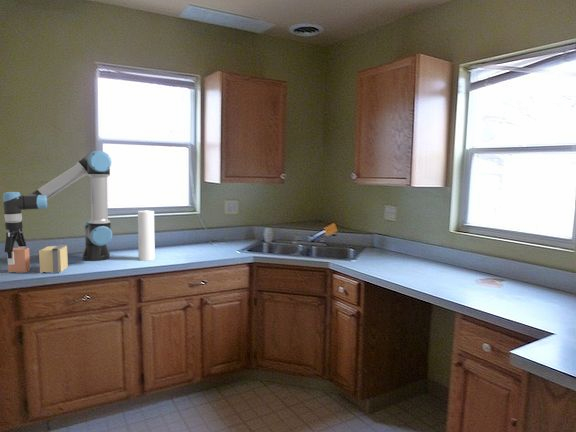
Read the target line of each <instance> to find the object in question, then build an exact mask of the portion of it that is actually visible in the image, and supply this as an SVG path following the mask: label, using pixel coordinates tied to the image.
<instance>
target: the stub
mask: <svg viewBox="0 0 576 432" xmlns="http://www.w3.org/2000/svg"><path fill="white" fill-rule="evenodd" d="M12 252H14V264H12V265H8V264H7V267H8V270H7V271H8V273H9V272H16V273H27V272H28V270H29V269H30V270H31V259H30V257H31V256H30V247H24V248H18V247H13V251H12ZM30 270H29V271H30ZM26 271H27V272H26Z"/></svg>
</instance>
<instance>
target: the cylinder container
mask: <svg viewBox="0 0 576 432" xmlns="http://www.w3.org/2000/svg"><path fill="white" fill-rule="evenodd" d="M137 236H138V237H137V242H138V244H137V246H138V247H137V248H138V261H140V262H141V261H142V262H145V261H146V262H147V261H153V260H155V259H156V258H155V257H156V255H155V254H156V249H155V248H156V247H155V238H156V237H155V210H147V209H145V210H138V211H137Z"/></svg>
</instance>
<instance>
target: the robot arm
mask: <svg viewBox="0 0 576 432" xmlns="http://www.w3.org/2000/svg"><path fill="white" fill-rule="evenodd" d="M111 166H112V158H111V157H110V155H109V154H108V153H107V152H104V151H103V150H93V151H90V152H89V153H87V154H86V155H85V156H83V157H82V158H81V159H80V160H78V161H77V162H76V164H75V165H73V166H72V167H70V168H69V169H67V170H66V171H64V172H63V173H61V174H59V175H58V176H57V177H55V178H53V179H52V180H50V181H49V182H47V183H45V184H44V185H42V186H40V187H39V188H38V189H36V190H34V191H32V192H31V193H28V194H26V195H21V193H20V192H19V191H7V192H4V193H3V194H2V199H3V200H2V203H3V213H4V215H3V217H4V221H5V223H4V227H5V230H6V231H8V232H5V234H6V235H5V236H6V237H5V244H4V253H6V257H7V266H8V265H12V264H14V252H12V251H13V248H15V247H14V246H15V243H16V244H17V245H18V247H17V248H25V247H27V244H26V239H25V236H24V232H23V227H24V225H23V214H22V211H23V210H24V211H25V210H43V209H44V210H45V209H47V208H48V200H49V199H51V198H52V197H54V196H56V195H57V194H58V193H61V192H62V191H63V190H65V189H66V188H67V187H69V186H71V185H72V184H74V183H76V182H77V181H78V180H81V179H82V178H83V177H85V176H88V177H90V208H91V210H90V211H91V212H90V213H91V215H90V216H91V218H90V220H89V221H88V220H87V221H85V223H84V238H85V240H84V241H85V242H84V243H85V245H84V246H85V247H84V250H83V253H82V260H83V261H90V262H91V261H103V260H107V259H110V258H111V253H110V251H109V248H108V244H109V243H110V242H111V241H112V238H113V231H112V230H111V229H112V227H111V226H112V225H111V224H112V223H111V220H109V219H108V218H109V216H108V215H109V214H108V213H109V212H108V211H109V210H108V206H109V205H108V177H110V175H111Z"/></svg>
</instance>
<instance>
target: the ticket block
mask: <svg viewBox="0 0 576 432" xmlns="http://www.w3.org/2000/svg"><path fill="white" fill-rule="evenodd" d="M38 255H39V258H38V259H39V273H40V274H44V273H43V272H53V273H52V274H59V273H58V272H61V271H62V272H64V271H65V270H67V268H68V267H69V266H68V265H69V263H68V262H69V261H68V245H67V243H60V244H59V245H50V246H49V245H46V246H45V247H43V248H41V249H40V250H38ZM64 269H65V270H64ZM63 270H64V271H63ZM62 272H61V273H62Z"/></svg>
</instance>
